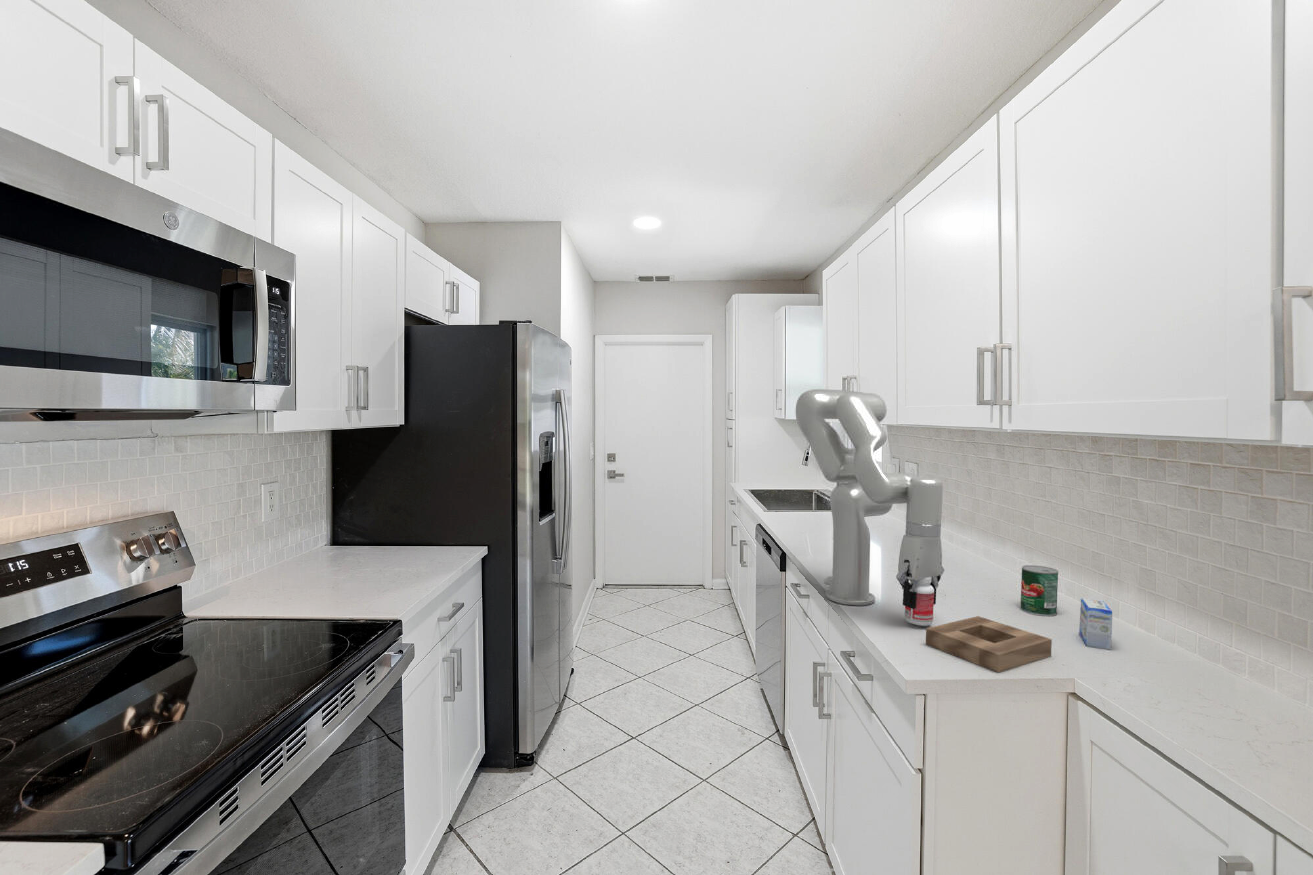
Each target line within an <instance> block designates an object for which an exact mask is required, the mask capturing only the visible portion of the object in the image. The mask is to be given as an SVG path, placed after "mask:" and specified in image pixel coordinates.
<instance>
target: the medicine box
mask: <svg viewBox="0 0 1313 875" xmlns="http://www.w3.org/2000/svg"><path fill="white" fill-rule="evenodd" d="M1079 611H1080V612H1079V630H1078V634H1079V636H1080V638H1081V639H1082V641H1083V642H1084V644H1085V646H1086V647H1089V648H1093V649H1094V648H1095V649H1100V648H1101V649H1102V650H1111V649H1112V637H1113V636H1112V632H1113V610H1111V608H1110V607H1109V606H1108V605H1107V603H1106V602H1105V601H1104V600H1100V599H1093V598H1085V597H1082V598H1080V610H1079ZM1101 649H1100V650H1101Z"/></svg>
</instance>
